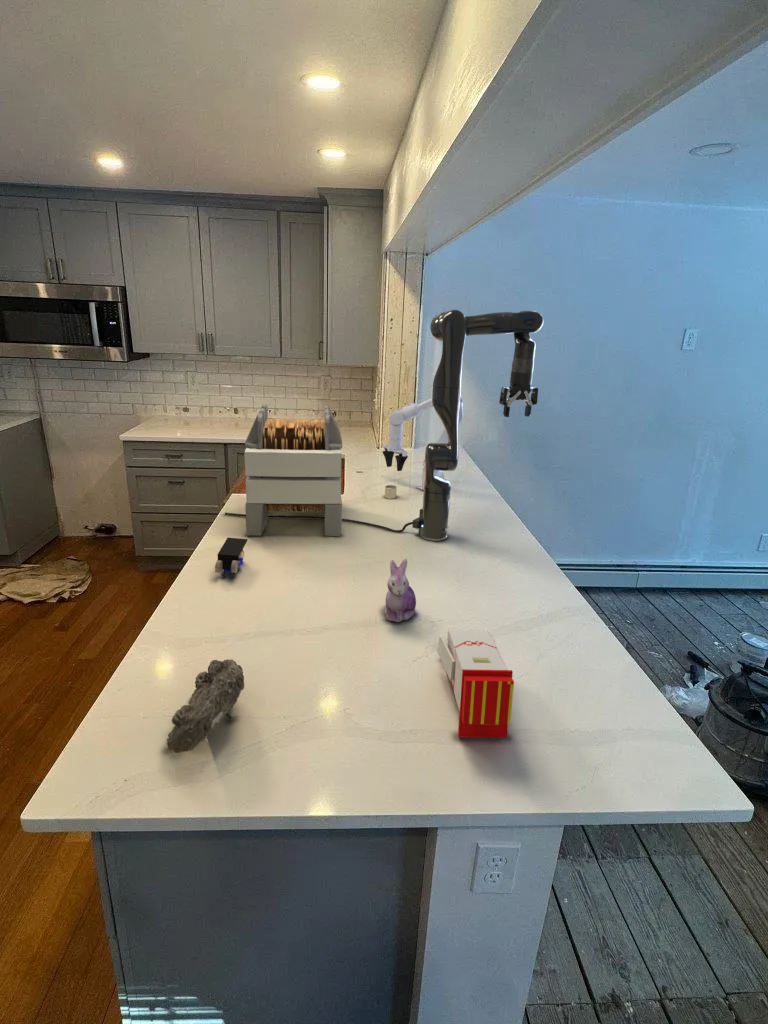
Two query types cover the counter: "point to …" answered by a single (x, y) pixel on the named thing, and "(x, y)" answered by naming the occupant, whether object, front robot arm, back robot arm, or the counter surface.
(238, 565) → the figurine character
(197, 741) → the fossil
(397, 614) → the figurine
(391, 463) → the back robot arm
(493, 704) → the toy
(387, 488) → the can
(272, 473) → the grey crate
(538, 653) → the counter surface
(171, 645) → the counter surface
